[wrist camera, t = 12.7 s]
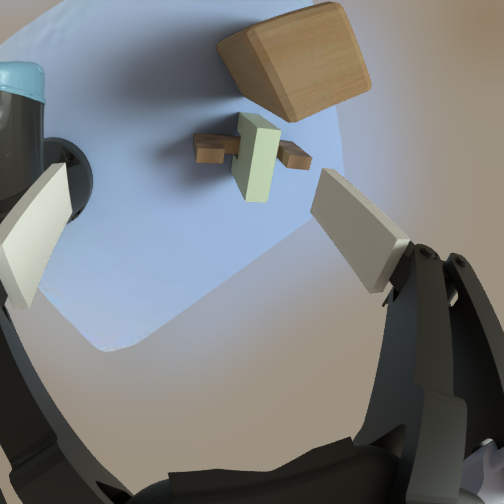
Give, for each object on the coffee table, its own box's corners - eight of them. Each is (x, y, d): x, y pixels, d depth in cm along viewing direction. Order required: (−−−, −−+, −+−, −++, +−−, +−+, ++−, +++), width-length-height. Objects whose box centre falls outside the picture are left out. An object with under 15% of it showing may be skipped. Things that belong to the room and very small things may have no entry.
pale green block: (248, 171, 46) (267, 202, 38) (230, 170, 45) (245, 201, 37) (258, 114, 40) (281, 130, 32) (239, 111, 40) (257, 127, 31)
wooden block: (300, 73, 37) (378, 91, 22) (243, 99, 38) (290, 129, 23) (274, 19, 31) (343, -2, 16) (212, 45, 32) (240, 29, 17)
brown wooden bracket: (193, 145, 41) (196, 162, 35) (194, 133, 40) (197, 148, 34) (289, 152, 46) (309, 170, 40) (292, 141, 45) (312, 157, 38)
